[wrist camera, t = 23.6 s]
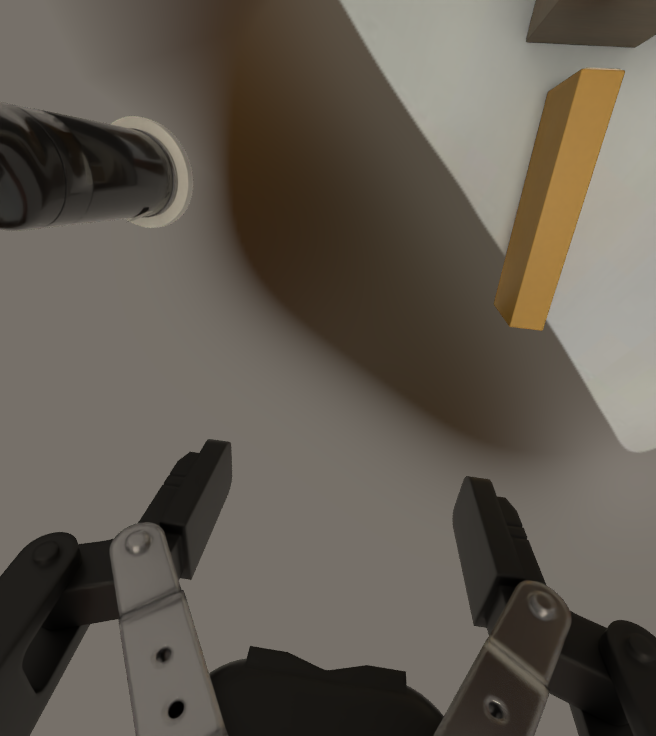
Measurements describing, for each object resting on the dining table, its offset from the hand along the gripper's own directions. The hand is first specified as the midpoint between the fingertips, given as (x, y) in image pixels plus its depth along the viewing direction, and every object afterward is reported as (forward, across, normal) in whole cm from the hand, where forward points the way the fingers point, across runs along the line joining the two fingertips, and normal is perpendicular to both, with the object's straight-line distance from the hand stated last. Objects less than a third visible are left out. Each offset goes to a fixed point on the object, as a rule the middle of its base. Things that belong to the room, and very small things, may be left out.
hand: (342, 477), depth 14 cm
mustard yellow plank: (+35, -16, -6) cm, 39 cm away
